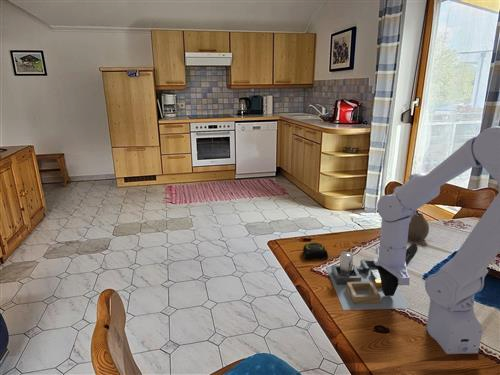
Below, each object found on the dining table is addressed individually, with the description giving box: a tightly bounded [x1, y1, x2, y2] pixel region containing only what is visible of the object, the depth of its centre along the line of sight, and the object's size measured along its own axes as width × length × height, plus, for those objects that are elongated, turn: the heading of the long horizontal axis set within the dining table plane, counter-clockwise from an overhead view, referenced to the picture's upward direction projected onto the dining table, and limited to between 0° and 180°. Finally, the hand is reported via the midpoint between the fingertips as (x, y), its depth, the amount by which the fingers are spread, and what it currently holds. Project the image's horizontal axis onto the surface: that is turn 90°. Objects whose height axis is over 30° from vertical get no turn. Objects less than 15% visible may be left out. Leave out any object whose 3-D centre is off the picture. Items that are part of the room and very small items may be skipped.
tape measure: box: [302, 242, 329, 261], centre depth 101 cm, size 7×7×4 cm
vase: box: [408, 212, 430, 242], centre depth 109 cm, size 7×7×9 cm
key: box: [370, 270, 382, 288], centre depth 86 cm, size 6×3×2 cm, turn 179°
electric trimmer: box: [405, 243, 419, 268], centre depth 97 cm, size 4×15×3 cm, turn 138°
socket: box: [331, 258, 378, 285], centre depth 89 cm, size 9×13×2 cm
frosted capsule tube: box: [339, 251, 354, 276], centre depth 87 cm, size 3×3×7 cm
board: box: [325, 265, 412, 311], centre depth 85 cm, size 19×16×1 cm
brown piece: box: [347, 281, 381, 304], centre depth 80 cm, size 6×6×2 cm
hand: (388, 294), depth 79 cm, fingers closed
